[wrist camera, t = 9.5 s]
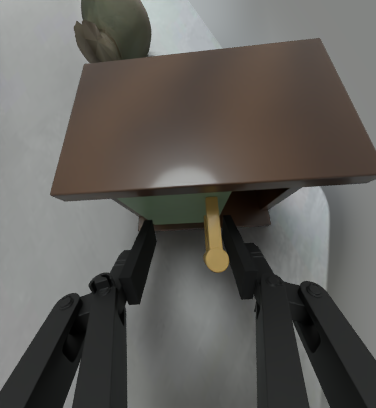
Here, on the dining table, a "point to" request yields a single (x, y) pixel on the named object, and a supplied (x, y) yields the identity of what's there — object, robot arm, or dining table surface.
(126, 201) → the sliding door
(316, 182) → the cupboard
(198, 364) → the dining table surface
